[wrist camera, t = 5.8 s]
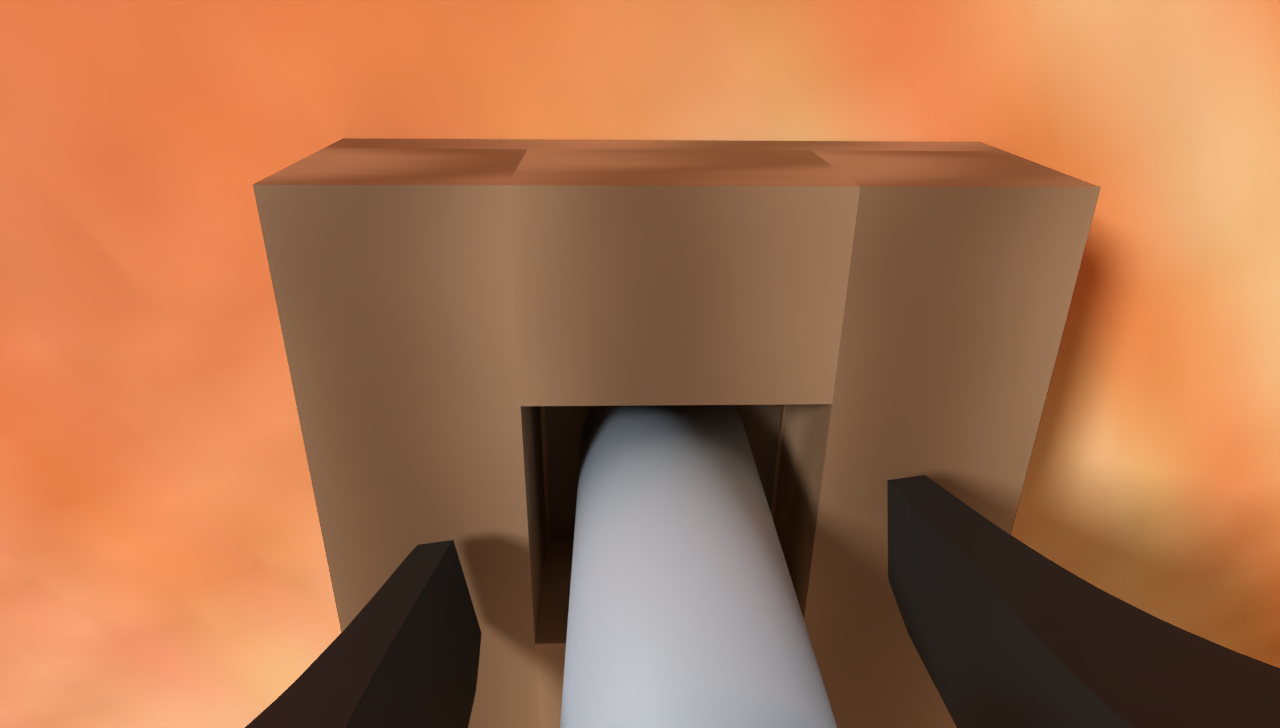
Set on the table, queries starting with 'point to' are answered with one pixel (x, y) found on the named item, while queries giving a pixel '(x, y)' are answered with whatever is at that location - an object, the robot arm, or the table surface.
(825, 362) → the walnut block
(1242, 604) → the table surface
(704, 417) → the dowel
